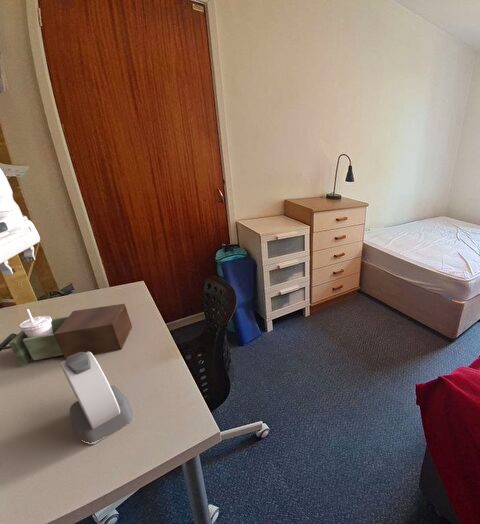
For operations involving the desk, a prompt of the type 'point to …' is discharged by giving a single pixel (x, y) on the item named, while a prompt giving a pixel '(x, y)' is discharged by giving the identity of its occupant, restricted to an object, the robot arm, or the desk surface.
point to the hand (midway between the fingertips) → (20, 267)
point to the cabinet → (94, 330)
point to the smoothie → (36, 326)
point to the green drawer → (34, 344)
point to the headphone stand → (94, 399)
